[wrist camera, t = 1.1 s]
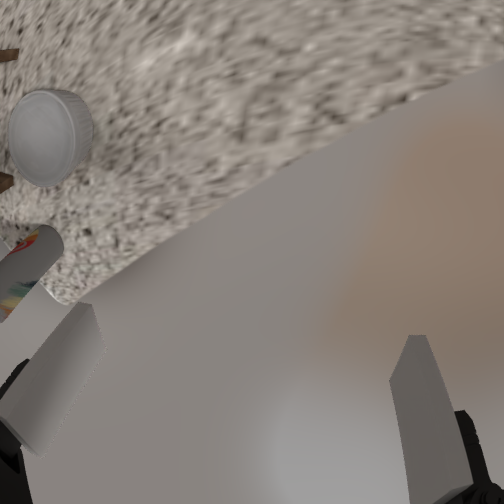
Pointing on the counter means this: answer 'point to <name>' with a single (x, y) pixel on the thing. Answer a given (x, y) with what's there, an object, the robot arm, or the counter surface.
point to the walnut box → (3, 180)
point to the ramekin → (49, 135)
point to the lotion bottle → (27, 266)
